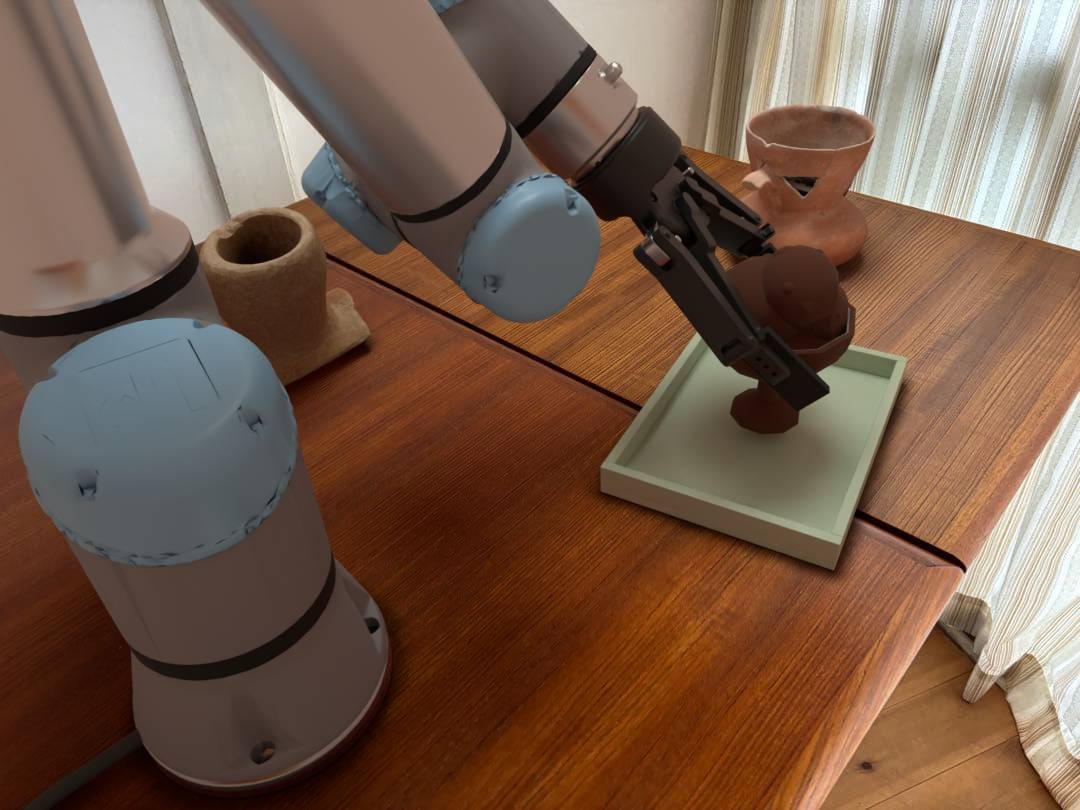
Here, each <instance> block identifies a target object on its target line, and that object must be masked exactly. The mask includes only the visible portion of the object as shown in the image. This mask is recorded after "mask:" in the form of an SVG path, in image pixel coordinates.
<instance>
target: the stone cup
mask: <svg viewBox="0 0 1080 810" xmlns="http://www.w3.org/2000/svg"><path fill="white" fill-rule="evenodd" d="M198 256H199V259H200V262H201V264H202V267H203V270H204V273H205V276H206V278H207V281H208V284H209V287H210V290H211V292H212V295H213V298H214V301H215V304H216V307H217V309H218V312H219V315H220V317H221V319H222V321H224V322H225V323H226V325H227V326H228V328H229V329H231V330H233V331H236V332H237V333H239V334H241V335H242V336H244V337H245V338H247V339H248V340H250V341H251V342H252V343H253V344H255V345H256V346H257V347H258V349H259V350H260V351H261V352H262V353H263V354H264V355H265V356H266V358H267V359H268V360H269V362H270V363H271V365H272V367H273V369H274V371H275V373H276V375H277V377H278V378H279V380H280V381H281V383H282V385H283V387H285V386H286V387H287V386H288V385H291V384H292V383H294V382H297V381H299V380H300V379H302V378H304V377H306V376H307V375H309V374H311V373H313V372H315V371H317V370H319V369H321V368H322V367H324V366H325V365H327V364H329V363H331V362H332V361H334V360H336V359H337V358H339V357H341V356H343V355H345V354H347V353H348V352H349V351H351V350H353V349H355V348H356V347H358V346H359V345H361V344H363V343H364V342H366V341H367V340H369V339H370V338H371V336H372V333H371V330H370V328H369V326H368V324H367V323H366V321H365V320H364V319H363V318H362V316H361V315H360V314H359V312H358V311H357V310H356V304H355V302H354V298H353V297H352V296H351V294H350V293H349V292H348V291H347V290H345V288H342V287H335V288H332V289H330V290H328V291H327V273H328V262H327V259H328V258H327V254H326V250H325V247H324V244H323V242H322V240H321V237H320V236H319V233H318V231H317V229H316V228H315V227H314V225H313V224H312V222H311V221H310V220H309V219H308V218H307V217H306V216H305V215H303V213H301V212H298V211H296V210H293V209H290V208H284V207H271V206H270V207H269V206H266V207H258V208H254V209H249V210H246V211H243V212H241V213H239V214H236V215H235V216H233V217H232V218H231V219H229V220H228V221H227V222H225V223H224V224H222V225H221V226H219V227H217V228H215V229H214V230H213V231H211V232H210V233H209V234H208V235H207V237H206V239H205V240H204V242H203V244H202V246H201V248H200V251H199V254H198Z"/></svg>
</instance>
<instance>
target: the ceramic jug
mask: <svg viewBox="0 0 1080 810" xmlns="http://www.w3.org/2000/svg"><path fill="white" fill-rule="evenodd" d="M876 131H877V129H876V126H875V123H874V122H873V121H872V120H871V119H870V118H869V117H867V116H866V115H864V114H861V113H858V112H857V111H856V110H852V109H850V108H846V107H842V106H832V105H826V104H821V103H807V104H805V103H798V104H795V103H794V104H786V105H779V106H773V107H770V108H767V109H764V110H761V111H759V112H757V113H755V114H753V115H752V116H751V117H750V118H748V120H747V122H746V124H745V145H746V152H747V156H748V161H749V165H750V168H751V172H750V173H748V174H747V175H746V176H745V177H743V179H742V180H741V184H742V186H743V187H744V188H745V189H746V190H747V191H750V192H751V193H749V194H747V195H745V196H744V197H743V198H741V199H739V200H740V201H742V202H743V203H744V204H745V205H747V206H748V207H749V208H750V209H752V210H753V211H754V212H756V213H757V214H758V215H759V216H760V217H761V219H762V222H763V224H762V225H760V226H759V228H761V227H762V226H764V225H765V224H766V223H770V224H771V225H772V227H773V228H774V230H775V232H776V234H775V235H774V236H772V237H771V238H770V239H768V240H767V241H766V243H767V244H768V243H769V242H771V243H772V245H773V246H774V247H775V248H776V249H777V250H778V249H780V248H782V247H785V246H796V245H804V246H808V247H812V248H815V249H821V250H822V251H823V252H824V254H825V255H827V256H828V257H829V259H830V260H831V261H832V263H833V264H834V265H835V267H836V268H837V267H838V266H841V265H843V264H844V263H846V262H848V261H850V260H851V259H853V258H855V256H856V255H857V254H858V253H859V252H860V251H861V250H862V249H863V246H864V245H865V243H866V242H867V239H868V233H869V227H868V222H867V220H866V218H865V215H864V214H863V212H862V211H861V209H860V208H859V207H857V205H856V204H854V203H853V202H852V201H851V200H849V199H848V198H846V196H847V194H848V193H849V191H850V189H851V187H852V185H853V183H854V180H855V178H856V176H857V174H858V173H859V171H860V169H861V168H862V167H863V164H864V162H865V161H866V159H867V157H868V155H869V152H870V151H871V148H872V146H873V143H874V140H875V137H876V134H877V132H876ZM741 218H743V217H741ZM743 219H744V218H743ZM743 259H745V260H746V259H748V257H747V256H745V257H744V258H743Z"/></svg>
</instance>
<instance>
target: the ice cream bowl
mask: <svg viewBox="0 0 1080 810" xmlns="http://www.w3.org/2000/svg"><path fill="white" fill-rule="evenodd" d="M726 272H727V274H728V276H729V277H730V279H731V280H732V282H733V283H734V285H735V287H736V288H737V290H738V291H739V293H740V295H741V296H742V298H743V299H744V301H745V302H746V304H747V306H748V307H749V309H750V310H751V312H752V314H753V315H754V317H755V318H756V320H757V321H758V323H759V325H760V326H761V328H762V329H764V328H765V327H767V326H769V327H770V328H771V329H772V330H773V331H774V332H775V333H776V334H777V335H778V336H779V337H780V338H781V339H782V340H783V341H784V342H785V343H786V344H787V345H788V346H789V347H790V348H791V349H792V350H793V351H794V352H795V353H796V354H797V355H798V356H799V357H800V358H801V359H802V360H803V361H804V362H805V363H806V364H807V365H808V366H809V367H810V368H811V369H812V370H813V371H814V372H815V373H818V372H820V371H822V370H823V369H825V368H827V367H828V366H830V365H832V364H833V363H835V362H837V361H838V360H839V359H840V357H841V356H842V355H843V354H844V353H845V352H846V351H847V349H848V347H849V345H850V344H851V343H852V341H853V340H854V337H855V335H856V318H857V317H856V315H857V314H856V313H857V308H856V307H855V306H854V305H853V304H852V303H850V302H849V298H848V296H847V293H846V291H845V289H844V288H842V286H841V285H839V284H840V283H839V282H840V280H839V279H840V275H839V272H838V270H837V266H836V267H835V265H834V264H833V263H832V261H831V260H830V259H829V257H828V256H827V255H825V254H824V252H823V251H822V250H821V249H815V248H812V247H808V246H804V245H796V246H785V247H782V248H780V249H778V250H776V251H775V252H774V253H773V254H770V253H769V254H764V255H763V256H757V257H750V258H748V259H746V258H745V259H744V260H743V261H741V262H738V263H737V264H735V265H733V266H732V267H730V268H728V269H727V270H726ZM730 367H731V368H732V369H734V370H735V371H736V372H737V373H739V374H741V375H744V376H747V377H750V378H753V379H756V380H758V386H757V388H749V389H747V390H745V391H744V392H742V393H740V394H738V395H737V396H735V397H734V399H733V401H732V406H731V410H730V415H731V416H732V417H733V418H734V420H735V421H736V422H737V423H738V425H739V426H740V427H742V428H745V429H748V430H751V431H753V432H756V433H759V434H779V433H785V432H786V431H788V430H789V429H791V428H793V427H794V426H796V425H797V424H798V421H799V413H800V411H798V412H797V411H796V410H795V409H794V408H792V407H791V406H790V405H789V404H788V403H787V402H786V401H785V400H784V399H783V398H782V397H781V396H780V395H779V394H778V393H777V392H776V391H775V390H774V389H773V388H772V387H771V386H770V385H769V384H768V383H766V382H765V381H764V380H763V379H762V378H761V377H760V376H759V375H758V374H757V373H756V372H755V371H754V370H753V369H752V368H751V367H750V366H749V365H748V364H747V363H746V362H745V361H744V360H743V359H742V358H741V359H740V360H738V361H737V362H735V363H734V364H732V365H731V366H730Z"/></svg>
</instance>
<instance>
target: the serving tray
mask: <svg viewBox="0 0 1080 810" xmlns="http://www.w3.org/2000/svg"><path fill="white" fill-rule="evenodd" d="M908 364H909V357H906V356H902V355H898V354H892V353H889V352H886V351H881V350H876V349H873V348H868V347H864V346H859V345H856V344H851V343H850V345H849V347H848V349H847V351H846V352H845V353H844V354H843V355H842V356H841V357H840V359H839V360H838V361H837V362H835V363H833V364H832V365H830V366H828V367H827V368H825V369H823V370H822V371H820V372H818V373H816V374H818V375H819V376H820V377H821V378H822V379H823V380H824V381H825V382H826V383H827V384H828V385H829V387H830V393H829V394H827V395H826V396H824V397H822V398H821V399H819V400H817V401H815V402H814V403H812V404H810V405H809V406H807V407H805V408H803V409H802V410H800V413H799V421H798V424H797V425H796V426H794V427H793V428H791V429H789V430H788V431H786V432H785V433H779V434H759V433H756V432H753V431H751V430H748V429H745V428H742V427H740V426H739V425H738V423H737V422H736V421H735V420H734V418H733V417H732V416H731V415H730V410H731V406H732V401H733V399H734V397H735V396H737V395H738V394H740V393H742V392H744V391H745V390H747V389H749V388H757V386H758V380H756V379H753V378H750V377H747V376H744V375H741V374H739V373H737V372H736V371H735V370H734V369H732V368H731V367H730V366H729V367H725V366H724V365H722V363H721V362H720V361H719V360H718V358H717V357H716V356H715V354H714V353H713V352H712V351H711V349H710V348H709V347H708V345H707V344H706V343H705V341H704V340H703V339H702V337H701V336H700V335H699V334H698V332H697V331H696V333H695V334H694V335H693V336H692V338H691V339H690V341H689V342H688V343H687V345H686V346H685V348H684V349H683V351H682V352H681V353H680V355H679V356H678V357H677V359H676V360H675V361H674V363H673V364H672V366H671V368H670V369H669V370H668V372H667V373H666V374H665V376H664V377H663V379H662V380H661V381H660V382H659V384H658V385H657V387H656V388H655V390H654V391H653V392H652V394H651V395H650V397H649V398H648V400H646V402H645V404H644V405H643V407H642V408H641V409H640V411H639V412H638V413H637V415H636V416H635V418H634V419H633V420H632V422H631V424H630V425H629V426H628V427H627V428H626V430H625V432H624V433H623V434H622V436H621V437H620V439H619V440H618V441H617V443H616V444H615V446H614V447H613V448H612V450H611V451H610V453H609V454H608V455H607V456H606V458H605V460H604V461H603V462H602V463H601V465H600V467H599V469H600V470H599V471H600V492H601V493H604V494H607V495H610V496H613V497H616V498H619V499H621V500H625V501H628V502H631V503H634V504H636V505H639V506H642V507H646V508H648V509H651V510H655V511H657V512H660V513H663V514H666V515H669V516H672V517H675V518H678V519H680V520H684V521H686V522H690V523H693V524H695V525H699V526H701V527H704V528H707V529H710V530H713V531H717V532H718V533H721V534H725V535H728V536H731V537H734V538H737V539H740V540H743V541H745V542H748V543H752V544H754V545H758V546H760V547H763V548H767V549H769V550H772V551H775V552H778V553H781V554H784V555H787V556H790V557H793V558H796V559H799V560H801V561H804V562H807V563H810V564H813V565H816V566H819V567H822V568H825V569H828V570H831V571H834V570H835V569H836V566H837V563H838V560H839V558H840V555H841V553H842V550H843V547H844V544H845V542H846V538H847V536H848V533H849V530H850V528H851V525H852V522H853V519H854V516H855V513H856V511H857V509H858V505H859V503H860V500H861V498H862V494H863V492H864V489H865V486H866V484H867V481H868V478H869V476H870V472H871V470H872V467H873V463H874V462H875V459H876V456H877V453H878V451H879V448H880V445H881V442H882V439H883V437H884V434H885V432H886V428H887V425H888V423H889V420H890V417H891V415H892V413H893V409H894V406H895V404H896V401H897V399H898V395H899V393H900V391H901V387H902V385H903V382H904V381H903V380H904V377H905V375H906V371H907V366H908Z"/></svg>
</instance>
